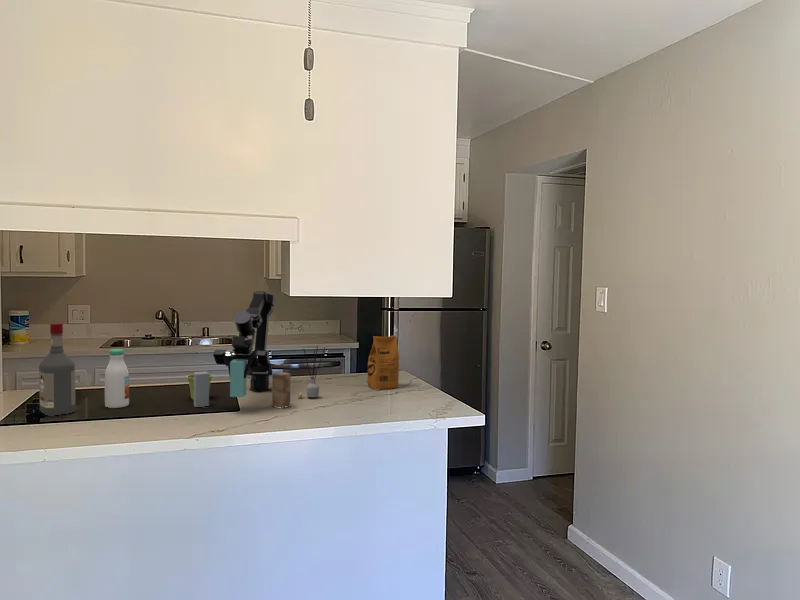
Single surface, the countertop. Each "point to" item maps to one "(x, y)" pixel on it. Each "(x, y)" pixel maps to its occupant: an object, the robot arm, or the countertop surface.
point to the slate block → (201, 389)
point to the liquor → (57, 377)
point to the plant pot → (191, 383)
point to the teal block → (237, 378)
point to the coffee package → (383, 363)
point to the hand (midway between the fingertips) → (237, 377)
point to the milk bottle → (116, 381)
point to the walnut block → (281, 389)
